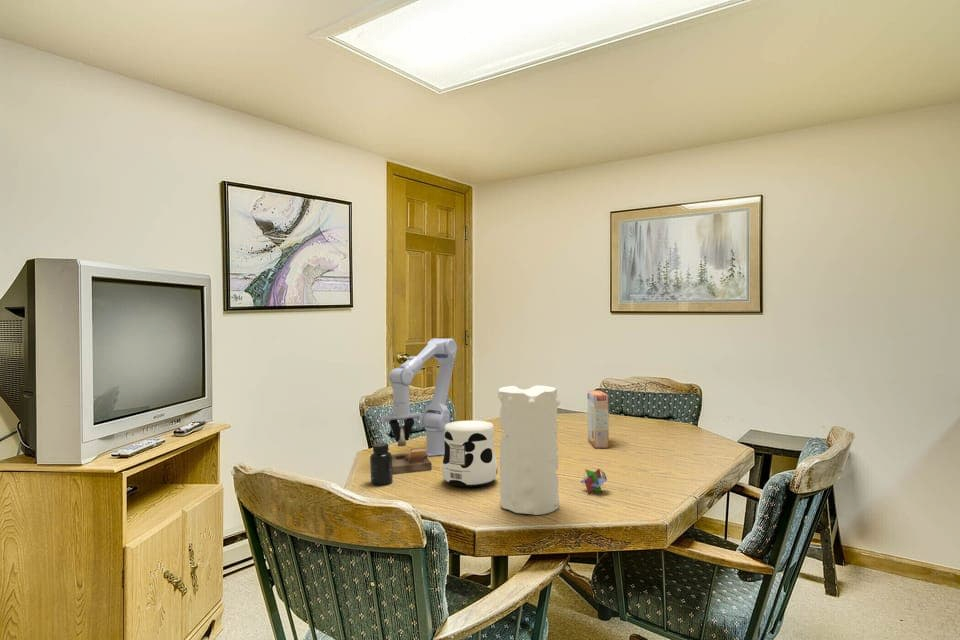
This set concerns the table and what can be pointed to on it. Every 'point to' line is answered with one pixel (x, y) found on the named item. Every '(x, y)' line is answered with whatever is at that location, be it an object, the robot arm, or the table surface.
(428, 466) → the brown board with hole
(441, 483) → the table surface
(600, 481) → the geometric puzzle
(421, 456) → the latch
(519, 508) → the vase
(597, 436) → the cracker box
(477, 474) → the milk container
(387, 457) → the supplement bottle
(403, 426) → the steel pin
